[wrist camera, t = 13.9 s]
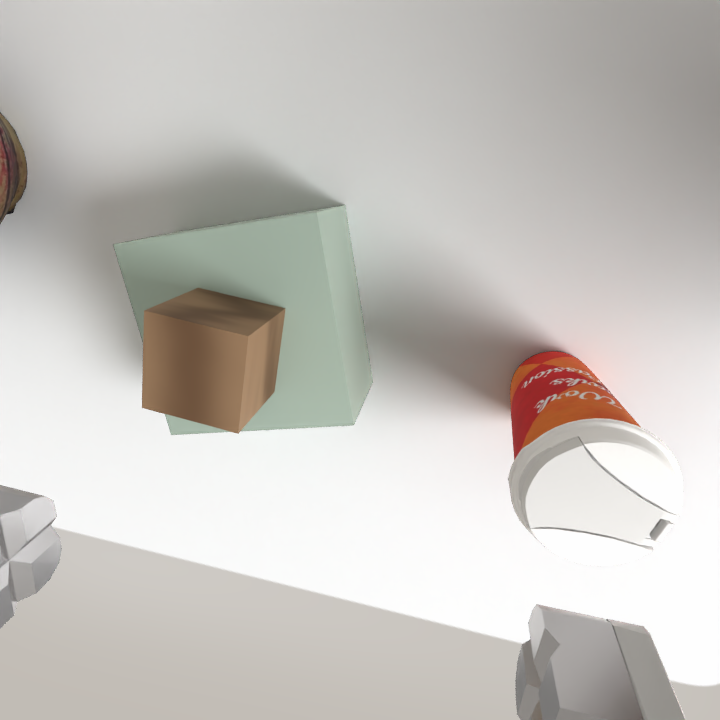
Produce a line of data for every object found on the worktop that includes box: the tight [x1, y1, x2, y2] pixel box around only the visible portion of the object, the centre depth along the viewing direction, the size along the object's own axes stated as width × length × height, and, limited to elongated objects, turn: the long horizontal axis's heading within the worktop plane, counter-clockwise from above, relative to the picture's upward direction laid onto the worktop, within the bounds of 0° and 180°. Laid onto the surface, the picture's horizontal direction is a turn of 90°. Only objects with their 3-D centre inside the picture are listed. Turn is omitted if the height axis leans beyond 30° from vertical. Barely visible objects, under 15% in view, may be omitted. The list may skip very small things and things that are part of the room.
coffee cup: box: [508, 351, 683, 566], centre depth 31 cm, size 8×8×15 cm
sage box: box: [113, 205, 373, 435], centre depth 37 cm, size 14×14×8 cm
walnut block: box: [142, 288, 286, 433], centre depth 30 cm, size 6×6×6 cm
